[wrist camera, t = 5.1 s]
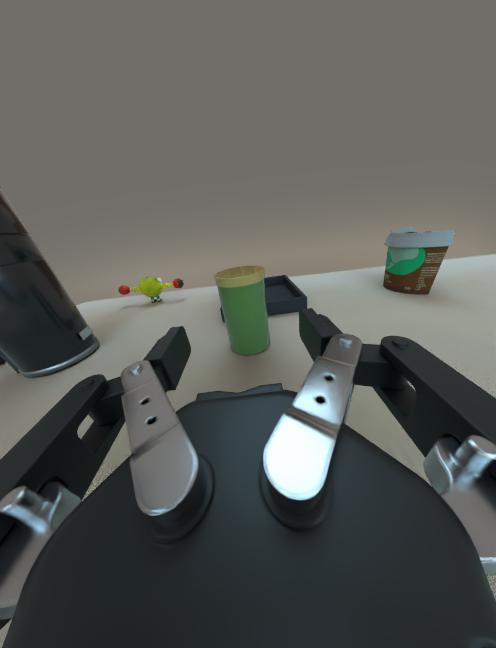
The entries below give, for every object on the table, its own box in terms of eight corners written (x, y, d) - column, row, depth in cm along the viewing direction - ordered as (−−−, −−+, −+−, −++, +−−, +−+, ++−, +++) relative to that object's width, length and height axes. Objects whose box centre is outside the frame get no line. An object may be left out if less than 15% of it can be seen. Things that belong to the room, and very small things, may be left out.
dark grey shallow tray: (223, 321, 32) (220, 309, 31) (228, 292, 48) (226, 283, 47) (307, 310, 32) (307, 297, 31) (285, 284, 47) (285, 274, 46)
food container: (368, 279, 42) (377, 231, 37) (400, 277, 40) (413, 226, 35) (389, 298, 32) (404, 236, 27) (433, 297, 30) (458, 229, 25)
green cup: (228, 358, 23) (210, 281, 18) (231, 335, 28) (217, 270, 23) (273, 352, 23) (267, 273, 18) (267, 329, 28) (261, 263, 23)
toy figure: (191, 294, 51) (184, 270, 48) (184, 301, 46) (175, 275, 43) (133, 301, 53) (123, 278, 50) (120, 308, 48) (108, 284, 45)
